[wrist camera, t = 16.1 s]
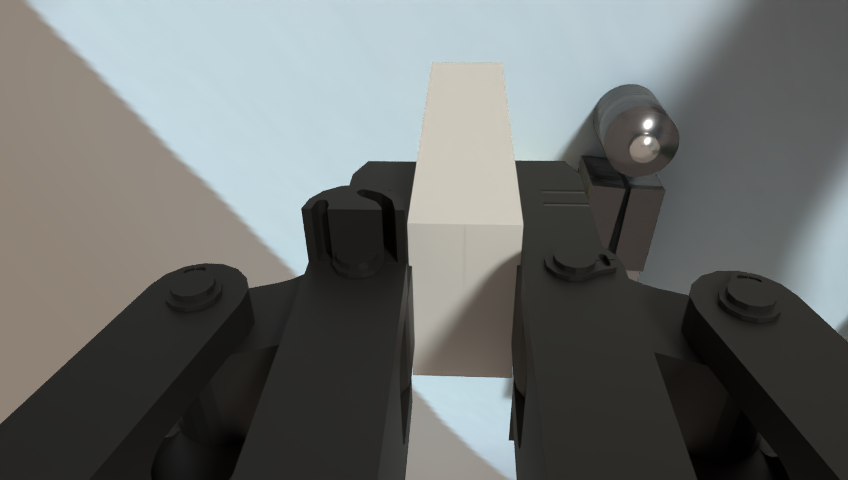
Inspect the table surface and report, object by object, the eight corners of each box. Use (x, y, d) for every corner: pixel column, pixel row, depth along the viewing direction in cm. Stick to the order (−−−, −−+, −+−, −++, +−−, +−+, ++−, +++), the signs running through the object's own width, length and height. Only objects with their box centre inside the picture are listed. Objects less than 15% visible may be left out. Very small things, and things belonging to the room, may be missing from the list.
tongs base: (599, 82, 39) (616, 114, 35) (667, 86, 39) (692, 118, 35) (545, 368, 52) (552, 416, 48) (595, 371, 52) (607, 419, 48)
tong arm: (581, 155, 42) (592, 185, 38) (612, 159, 42) (625, 188, 38) (529, 367, 52) (533, 404, 49) (553, 369, 52) (560, 407, 49)
